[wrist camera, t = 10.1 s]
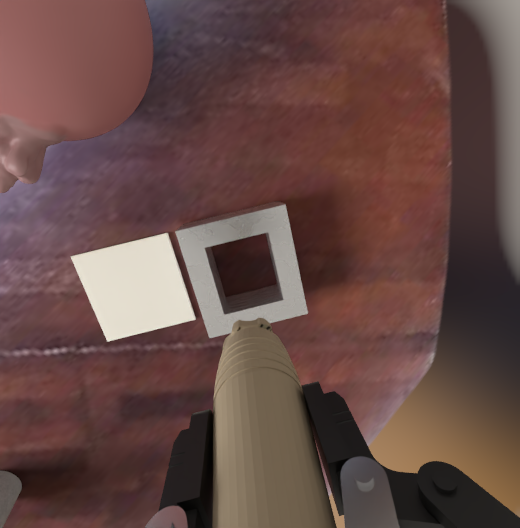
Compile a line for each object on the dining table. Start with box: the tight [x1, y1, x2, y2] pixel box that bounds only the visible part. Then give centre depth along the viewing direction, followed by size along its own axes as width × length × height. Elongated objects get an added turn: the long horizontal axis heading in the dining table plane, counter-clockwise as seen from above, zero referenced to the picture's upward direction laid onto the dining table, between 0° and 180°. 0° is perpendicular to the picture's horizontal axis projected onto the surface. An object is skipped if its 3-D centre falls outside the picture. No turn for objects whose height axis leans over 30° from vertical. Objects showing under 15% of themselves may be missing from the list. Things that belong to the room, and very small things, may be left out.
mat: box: [71, 233, 196, 342], centre depth 35 cm, size 11×11×1 cm
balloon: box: [0, 0, 153, 193], centre depth 22 cm, size 15×20×15 cm
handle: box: [212, 318, 337, 528], centre depth 11 cm, size 5×6×15 cm
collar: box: [175, 201, 308, 338], centre depth 33 cm, size 12×11×5 cm
